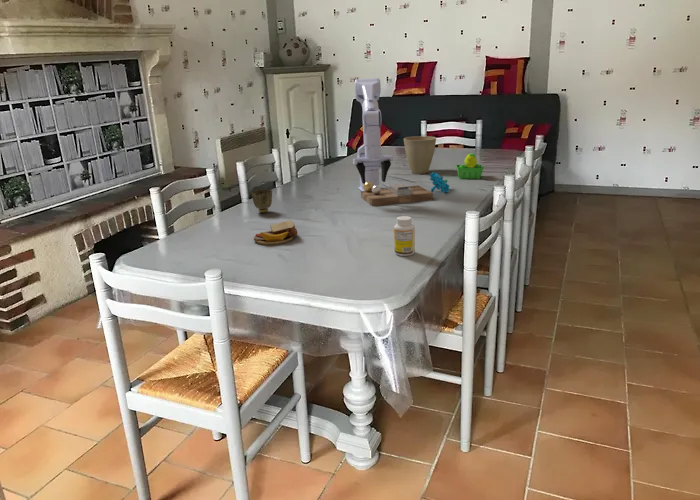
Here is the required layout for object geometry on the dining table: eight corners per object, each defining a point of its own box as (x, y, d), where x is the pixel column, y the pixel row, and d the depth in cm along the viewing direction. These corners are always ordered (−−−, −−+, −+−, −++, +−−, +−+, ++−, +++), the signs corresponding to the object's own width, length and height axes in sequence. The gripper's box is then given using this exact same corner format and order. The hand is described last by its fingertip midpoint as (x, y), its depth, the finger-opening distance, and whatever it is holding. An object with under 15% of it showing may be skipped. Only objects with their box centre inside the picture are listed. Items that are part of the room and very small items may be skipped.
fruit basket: (481, 175, 250) (482, 150, 246) (484, 179, 242) (485, 153, 238) (455, 176, 251) (456, 150, 248) (457, 180, 243) (457, 154, 239)
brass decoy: (362, 191, 219) (361, 181, 218) (372, 190, 220) (371, 180, 219) (365, 193, 215) (364, 183, 214) (375, 192, 216) (374, 182, 215)
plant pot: (437, 174, 255) (438, 139, 250) (405, 176, 255) (404, 140, 250) (433, 168, 269) (434, 135, 264) (402, 169, 270) (402, 136, 264)
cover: (389, 190, 217) (389, 183, 216) (403, 189, 218) (402, 182, 218) (397, 196, 208) (397, 188, 208) (411, 194, 210) (411, 187, 209)
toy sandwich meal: (254, 235, 178) (253, 221, 177) (297, 232, 179) (296, 218, 178) (252, 247, 166) (251, 232, 165) (298, 244, 168) (297, 229, 166)
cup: (277, 210, 206) (275, 188, 203) (268, 215, 199) (266, 193, 197) (259, 209, 208) (257, 188, 206) (249, 214, 202) (247, 192, 199)
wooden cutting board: (361, 197, 220) (360, 191, 219) (418, 191, 225) (418, 185, 224) (371, 205, 206) (371, 199, 206) (432, 199, 212) (432, 193, 211)
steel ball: (370, 193, 214) (370, 184, 213) (379, 192, 215) (379, 183, 214) (373, 195, 211) (373, 186, 210) (382, 194, 212) (382, 185, 211)
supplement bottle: (402, 248, 159) (401, 214, 156) (418, 252, 156) (418, 216, 152) (390, 254, 155) (389, 218, 152) (407, 258, 152) (406, 221, 148)
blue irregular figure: (442, 191, 217) (427, 171, 219) (432, 201, 220) (418, 181, 223) (456, 189, 225) (442, 170, 228) (446, 198, 229) (432, 179, 231)
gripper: (356, 148, 196) (357, 186, 201) (395, 144, 200) (395, 182, 204) (350, 145, 203) (352, 182, 207) (389, 142, 206) (389, 178, 210)
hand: (373, 182), depth 206 cm, fingers open, 7 cm apart
